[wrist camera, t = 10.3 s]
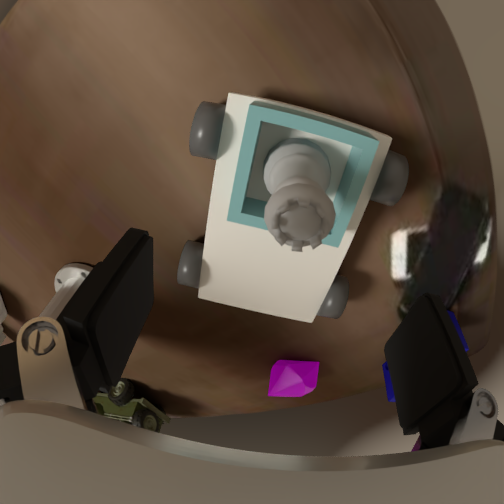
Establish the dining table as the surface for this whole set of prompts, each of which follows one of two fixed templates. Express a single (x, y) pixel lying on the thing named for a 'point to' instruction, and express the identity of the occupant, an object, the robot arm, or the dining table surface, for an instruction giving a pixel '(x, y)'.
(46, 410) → the robot arm
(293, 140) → the rook chess piece
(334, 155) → the chassis
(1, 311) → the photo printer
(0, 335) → the paper towel roll
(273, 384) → the crystal
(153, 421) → the toy jeep
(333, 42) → the dining table surface
